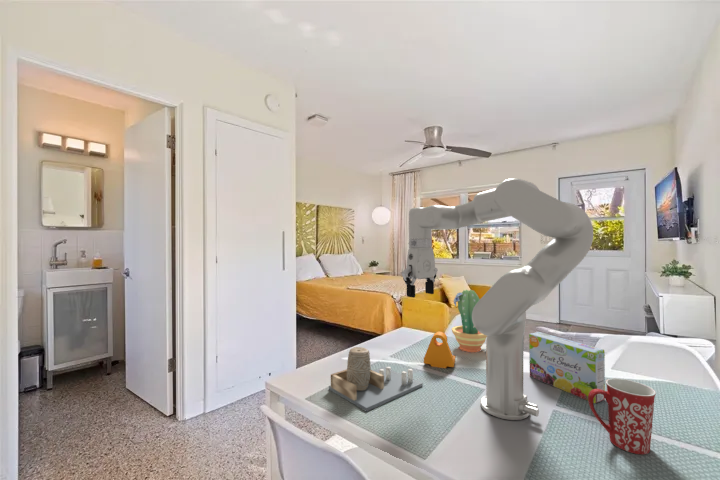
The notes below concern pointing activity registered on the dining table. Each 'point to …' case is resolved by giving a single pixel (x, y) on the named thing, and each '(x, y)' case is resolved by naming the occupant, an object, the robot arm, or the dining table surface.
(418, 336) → the dining table surface
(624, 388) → the mug
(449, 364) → the bracket
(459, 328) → the potted cactus
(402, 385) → the board
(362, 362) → the carving
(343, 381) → the end holder
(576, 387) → the snack box
